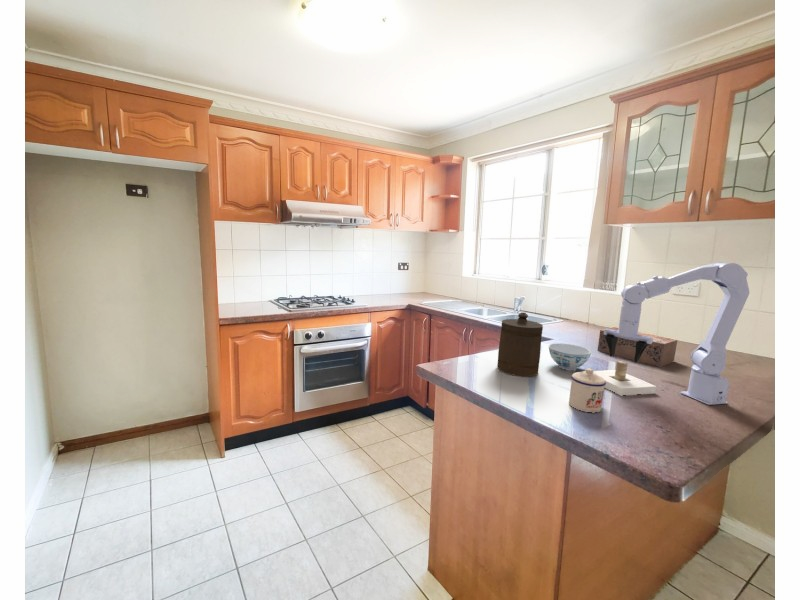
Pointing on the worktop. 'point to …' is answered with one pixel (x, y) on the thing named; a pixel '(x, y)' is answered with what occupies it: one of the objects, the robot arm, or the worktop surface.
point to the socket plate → (625, 384)
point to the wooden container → (520, 346)
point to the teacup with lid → (587, 391)
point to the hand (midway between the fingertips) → (623, 359)
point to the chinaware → (569, 355)
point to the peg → (620, 371)
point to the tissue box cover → (654, 353)
